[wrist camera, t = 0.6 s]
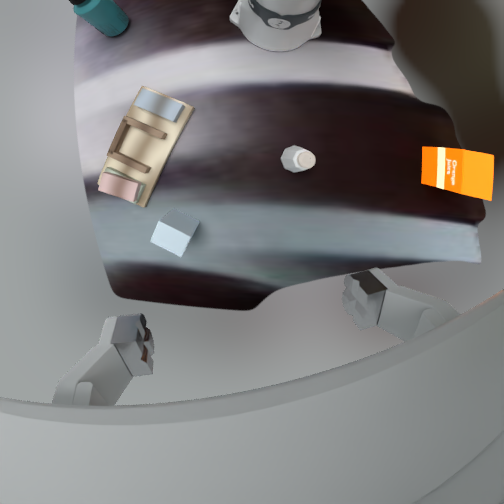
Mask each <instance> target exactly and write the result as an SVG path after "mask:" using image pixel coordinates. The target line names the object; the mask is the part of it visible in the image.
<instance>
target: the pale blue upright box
mask: <svg viewBox="0 0 504 504" xmlns="http://www.w3.org/2000/svg"><path fill="white" fill-rule="evenodd" d="M199 222H200V221H199V220H197V219H195V218H193V217H191V216H189V215H187V214H185V213H183V212H181V211H179V210H177V209H175V208H173V209H172V210H171V211H170V212H169V213H167V214H166V215H165V216H164V217H163V218H162V219H160V220H159V222H158V224H157V226H156V229H155V231H154V234H153V236H152V238H151V241H150V242H152V243H154V244H156V245H158V246H160V247H162V248H164V249H166V250H168V251H170V252H172V253H174V254H176V255H178V256H180V257H182V255H183V253H184V251H185V249H186V248H187V246H188V244H189V242H190V240H191V238H192V236H193V234H194V232H195V230H196V228H197V226H198V224H199Z"/></svg>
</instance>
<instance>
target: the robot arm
mask: <svg viewBox="0 0 504 504" xmlns="http://www.w3.org/2000/svg"><path fill="white" fill-rule="evenodd" d="M320 4H321V0H238V2H237V4H236V6H235V7H234V9H233V11H232V13H231V15H230V21H231V22H232V23H233V24H235V25H236V26H238V27H239V28H240V29H241V31H242V33H243V34H244V36H245V37H246V38H247V39H248V40H249V41H250V42H251V43H253V44H254V45H256V46H258V47H260V48H262V49H266V50H270V51H289V50H293V49H295V48H297V47H299V46H301V45H302V44H304V43H305V42H306V41H307V40H310V39H314V38H317V37H319V36H320V35H321V25H320V20H321V17H320V16H319V10H318V9H319V7H320ZM236 13H238V15H237V14H236ZM316 28H317V29H316ZM344 285H345V286H346V289H345V291H344V292H343V297H342V301H343V306H344V308H345V310H346V312H347V313H348V314H350V315H352V316H354V317H353V321H354V323H355V324H356V325H357V327H358V328H359V329H360V330H363V329H367V328H370V327H373V326H378V327H380V328H382V329H383V330H385V331H387V332H389V333H391V334H393V335H394V336H396V337H398V338H400V339H401V340H403V341H405V342H403V343H401V344H399V345H396V346H394V347H391V348H389V349H386V350H384V351H381V352H379V353H376V354H374V355H371V356H368V357H365V358H363V359H360V360H357V361H354V362H351V363H348V364H345V365H342V366H339V367H336V368H333V369H330V370H327V371H323V372H320V373H317V374H313V375H310V376H306V377H303V378H299V379H295V380H292V381H288V382H284V383H280V384H276V385H271V386H267V387H262V388H258V389H253V390H248V391H243V392H238V393H233V394H227V395H221V396H215V397H209V398H202V399H194V400H187V401H178V402H168V403H156V404H143V405H142V404H141V405H117V406H114V405H115V404H116V402H117V400H118V399H119V397H120V396H121V394H122V393H123V391H124V390H125V388H126V387H127V385H128V384H129V382H130V381H131V380H132V378H133V376H142V375H150V374H153V359H152V358H151V355H152V354H153V353H154V341H153V337H152V334H151V331H150V330H149V329H148V328H147V327H146V319H145V317H144V315H143V314H141V313H140V314H131V315H122V316H115V317H108V318H106V320H105V323H104V326H103V330H102V333H101V336H100V340H99V343H98V345H97V346H94V347H93V348H92V349H91V350H90V351H89V352H88V353H87V354H86V355H85V356H84V357H82V358H81V359H80V360H79V361H78V362H77V363H76V364H75V365H74V366H73V367H72V368H71V369H70V370H69V371H68V372H67V373H66V374H65V375H64V376H63V377H62V378H61V379H60V380H59V381H58V384H57V387H56V391H55V394H54V398H53V401H52V404H49V403H38V402H30V401H22V400H15V399H9V398H3V397H0V504H504V289H503V290H501V291H499V292H498V293H497V294H495V295H493V296H492V297H490V298H489V299H487V300H485V301H484V302H482V303H480V304H479V305H477V306H475V307H473V308H472V309H470V310H468V311H466V312H465V313H463V314H459V313H458V312H457V311H456V310H455V309H454V308H453V307H452V306H451V305H450V304H449V303H448V302H447V301H445V300H443V299H440V298H436V297H433V296H430V295H428V294H425V293H421V292H418V291H415V290H413V289H409V288H407V287H403V286H397V285H396V284H395V283H394V282H393V281H392V280H391V279H390V278H389V277H388V276H387V275H385V274H384V273H383V272H382V271H381V270H380V269H379V268H372V269H369V270H366V271H363V272H359V273H354V274H350V275H346V277H345V280H344Z"/></svg>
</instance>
